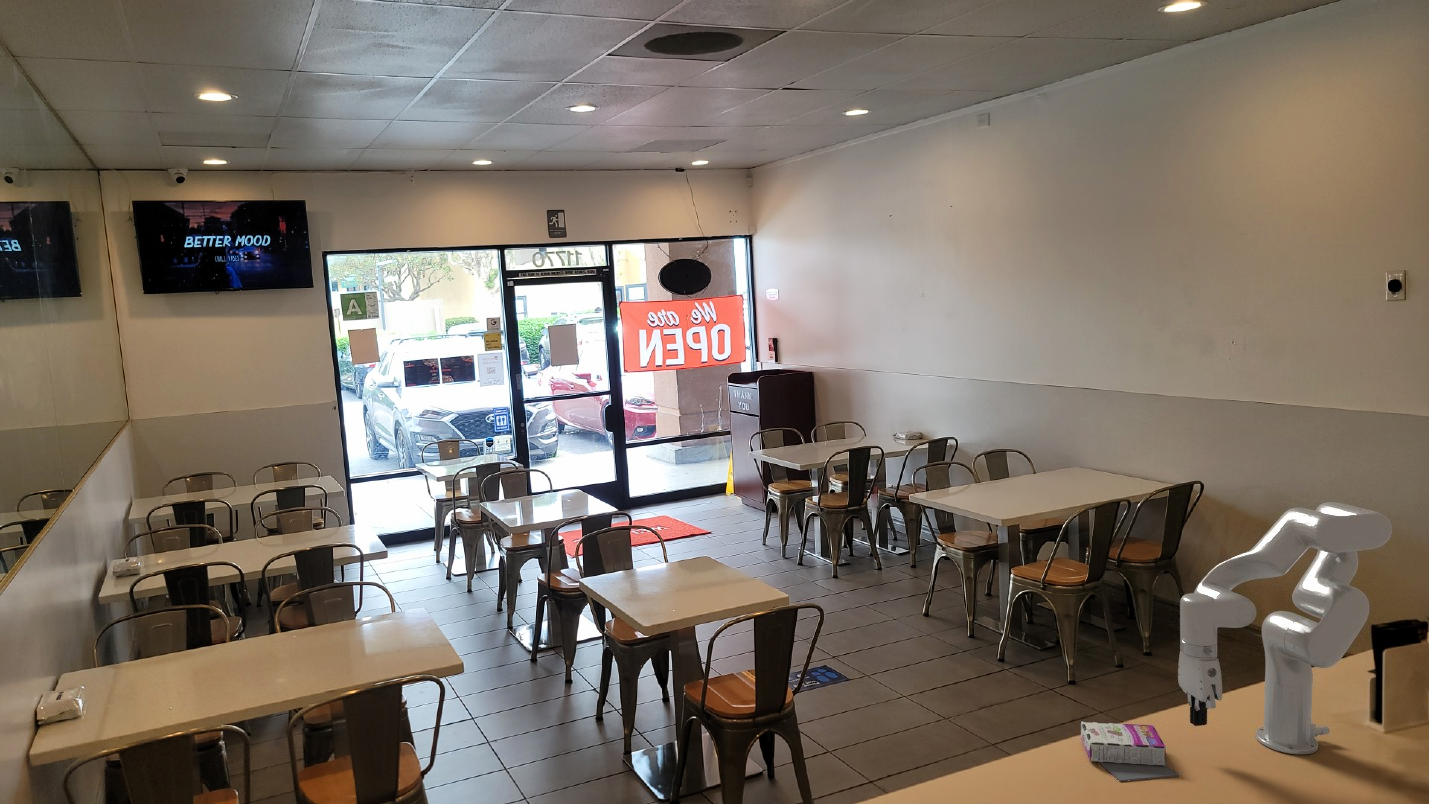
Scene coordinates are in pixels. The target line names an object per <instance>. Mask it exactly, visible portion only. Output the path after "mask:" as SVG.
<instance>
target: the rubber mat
mask: <svg viewBox="0 0 1429 804" xmlns="http://www.w3.org/2000/svg"><path fill="white" fill-rule="evenodd" d="M1098 763H1099V765H1101V766H1102V767H1103V768H1104V769H1105V770H1106V769H1107V770H1108V771H1109V772H1108V771H1107V770H1106V771H1107V772H1108V773H1110V774H1111V775H1112V776H1113V777H1114V778H1115V779H1116V778H1117V779H1116V780H1117V781H1118V780H1119V781H1121V782H1120V783H1122V781H1124V782H1133V781H1134V780H1135V781H1144V780H1153V779H1164V778H1165V779H1166V778H1175V777H1180V775H1179V773H1177V771H1175V770H1174V769H1172V767H1170V766H1169V765H1167V764H1166V763H1165V766H1157V765H1141V764H1126V763H1108V762H1098ZM1128 780H1130V781H1128ZM1119 781H1118V782H1119Z"/></svg>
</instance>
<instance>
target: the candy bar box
mask: <svg viewBox="0 0 1429 804" xmlns="http://www.w3.org/2000/svg"><path fill="white" fill-rule="evenodd" d="M1080 722H1081V723H1080V740H1081V743H1082V745H1083V747H1084V749H1085V752H1086V754H1087V757H1088V760H1089V762H1091V763H1092V762H1093V763H1094V762H1096V763H1099V762H1108V763H1126V764H1141V765H1157V766H1165V764H1166V761H1167V755H1166V754H1167V752H1166V750H1167V749H1166V745H1165V743H1164V741H1163V740H1162V738H1161V737H1160V735H1159V733H1158V731H1157V730H1156V728H1155V726H1154V725H1152V724H1133V723H1131V724H1130V723H1116V722H1115V723H1113V722H1097V721H1096V722H1095V721H1094V722H1093V721H1080Z"/></svg>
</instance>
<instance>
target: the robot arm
mask: <svg viewBox="0 0 1429 804" xmlns="http://www.w3.org/2000/svg"><path fill="white" fill-rule="evenodd" d="M1392 535H1393V526H1392V522H1391V521H1390V519H1389V518H1388V517H1387V516H1386V515H1385V514H1382V512H1379V511H1376V510H1372V509H1367V508H1363V507H1358V506H1355V505H1351V504H1347V503H1342V502H1335V501H1327V502H1323V503H1321V504H1319V505H1318V506H1317V507H1316V509H1315V510H1313V509H1310V508H1304V507H1293V508H1289V509H1287V510H1286V511H1285V512H1283V514H1281V515H1280V517H1279V518H1278V519H1277V520H1276V521H1275V522H1274V524H1272V526H1271V527H1270V528H1269V529H1268V530H1267V532H1265V534H1264V535H1262V537H1261V538H1260V539H1259V541H1258V542H1257V543H1256V544H1255V545H1253V546H1252V548H1251V549H1250V550H1247V551H1246V552H1242V553H1240V554H1237V555H1236V556H1233V557H1230V558H1229V559H1227V560H1225V561H1223V562H1221V563H1218V564H1217V565H1215V566H1214V567H1213V568H1211V570H1210V571H1209V572H1208V573H1207V574H1206V575H1205V576H1204V577H1203V578H1202V579H1201V581H1200V582H1199V583H1198V584H1197V586H1196V588H1195V589H1194V591H1193V592H1191V593H1186V594H1183V596H1182V597H1181V598H1180V601H1179V602H1180V603H1179V609H1180V610H1179V615H1180V617H1179V625H1180V626H1179V628H1180V629H1179V631H1180V632H1179V633H1180V634H1179V635H1180V637H1179V638H1180V640H1179V643H1180V646H1179V649H1180V651H1179V655H1178V656H1179V657H1178V667H1177V681H1178V685H1179V687H1180V688H1181V690H1182V691H1183V692H1184V694H1185V695H1186V697H1187V702H1188V705H1189V723H1190V724H1192V725H1193V726H1194V727H1199V726H1207V725H1208V710H1209V709H1211V710H1212V709H1216V708H1217V705H1216V700H1217V701H1222V699H1223V681H1222V671H1221V664H1220V662H1219V658H1218V628H1233V629H1234V628H1235V629H1237V628H1244V627H1246V626H1250V625H1251V624H1252V623H1253V622H1254V621H1255V619H1256V616H1257V608H1256V606H1255V604H1254V603H1253V602H1252V601H1251V600H1250V599H1249V598H1248V597H1246V596H1243V595H1242V594H1239V593H1236V592H1235V591H1232V590H1233V589H1234V588H1236V587H1237V586H1238V585H1241V584H1243V583H1245V582H1248V581H1251V580H1252V581H1253V580H1259V579H1269V578H1270V579H1271V578H1277V577H1282V576H1285V575H1286V574H1287V573H1288V572H1289V571H1290V570H1291V569H1292V567H1293V566H1294V565H1295V563H1297V562H1298V561H1299V559H1301V557H1302V556H1303V555H1304V554H1305V553H1306V552H1307V550H1309V549H1315V550H1317V553H1316V555H1315V557H1314V558H1313V560H1312V561H1311V563H1310V565H1309V566H1308V567H1307V569H1306V571H1305V572H1304V574H1303V575H1302V576H1301V578H1300V580H1299V581H1298V583H1297V584H1296V585H1295V588H1294V589H1293V592H1292V594H1291V599H1292V602H1293V605H1294V606H1295V607H1296V608H1297V609H1298V610H1299V611H1302V612H1303V613H1305V614H1308V615H1310V616H1313V617H1315V618H1318V619H1320V620H1319V622H1316V621H1314V620H1312V619H1311V618H1307V617H1304V616H1302V615H1299V614H1297V613H1295V612H1292V611H1285V610H1276V611H1273V612H1271V613H1269V614H1268V615H1267V616H1266V617H1265V618H1264V620H1263V622H1262V624H1261V638H1262V644H1263V648H1264V657H1265V658H1264V659H1265V669H1264V670H1265V672H1264V673H1265V674H1264V675H1265V676H1264V702H1263V703H1264V704H1263V705H1264V706H1263V726H1261V727H1260V728H1258V729H1257V730H1256V731H1255V737H1256V740H1257V741H1258V742H1259V743H1260V744H1262V745H1263V746H1265V747H1267V748H1269V749H1272V750H1274V751H1277V752H1281V753H1285V754H1292V755H1310V754H1314V753H1315V752H1316V753H1317V751H1318V750H1319V742H1318V740H1317V739H1316V737H1318V736H1319V735H1320V736H1322V735H1329V734H1330V728H1329V727H1328V726H1327V725H1322V726H1321V725H1320V726H1317V725H1316V723H1314V722H1312V708H1313V707H1312V706H1313V685H1314V684H1313V683H1314V682H1313V681H1314V679H1313V677H1314V674H1313V669H1312V666H1313V667H1315V668H1319V669H1328V668H1331V667H1333V666H1335V665H1336V664H1338V662H1340V661H1341V660H1342V658H1343V657H1344V656H1345V654H1346V652H1347V651H1348V649H1349V648H1350V646H1351V645H1352V644H1353V642H1354V641H1355V639H1356V638H1357V637H1358V635H1359V633H1360V631H1362V629H1363V627H1364V626H1365V623H1366V622H1367V620H1368V617H1369V615H1370V601H1369V599H1368V597H1367V595H1366V594H1365V593H1364V591H1362V590H1361V589H1359V588H1357V587H1354V586H1352V585H1351V584H1350V583H1351V582H1352V581H1353V578H1354V577H1355V575H1356V573H1357V571H1358V567H1359V557H1358V551H1369V550H1376V549H1378V548H1380V547H1383V546H1384V545H1385V544H1386V543H1388V541H1390V539H1391V536H1392Z"/></svg>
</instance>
